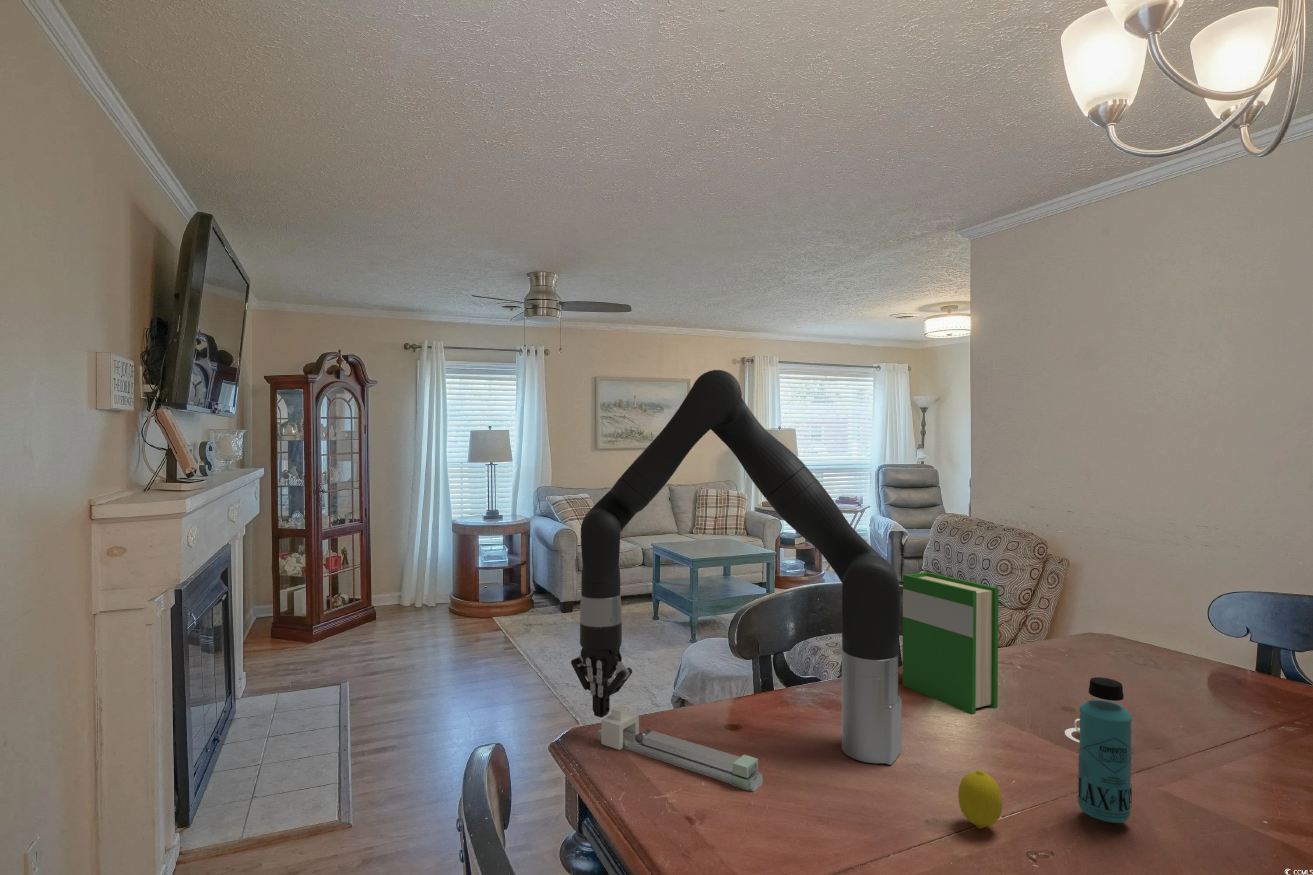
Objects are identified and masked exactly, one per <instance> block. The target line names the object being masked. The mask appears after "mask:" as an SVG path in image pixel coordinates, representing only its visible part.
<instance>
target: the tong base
mask: <svg viewBox="0 0 1313 875" xmlns="http://www.w3.org/2000/svg"><path fill="white" fill-rule="evenodd" d="M596 732H597V733H596V734H597V735H596V736H597V737H596V738H597V740H598V741H601V729H599V730H597V731H596ZM650 732H652V730H650V729H649V728H646V729H644V730H642V731H639V734H634V733H631V732H628V731H625V730H623V748H622V749H624V750H629V751H630V752H634V753H637V754H640V755H643V756H646V757H650V758H652V759H655V760H657V761H661V762H664V763H667V764H671V765H673V766H676V767H679V768H682V769H685V770H687V771H691V772H694V773H695V774H696V773H697V774H700V775H702V776H706V777H709V778H712V779H714V780H715V779H716V780H718V781H720V782H724V783H727V784H730V785H731V786H732V787H735V788H738V789H741V790H744V791H746V792H747V791H748V792H750V791H751V792H755V791H756V790H758V788H760V786H762V785H763V784H764V783H763V782H764V779H763V776H764V774H763V773H760V771H759V770H758V769H757V770H756V771H755V772H754V773H753V774H751V775H750V776H749V777H748V778H745V777H742V776H739V775H736V774H733V772H730V771H727V770H723V769H720V768H717V767H714V766H711V765H708V764H704V763H701V762H698V761H695V760H692V759H689V758H686V757H682V756H679V755H676V754H673V753H670V752H667V751H663V750H660V749H657V748H654V747H651V746H648V745H644V744H643V736H645V735H647V734H648V733H650Z"/></svg>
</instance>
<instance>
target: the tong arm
mask: <svg viewBox="0 0 1313 875" xmlns="http://www.w3.org/2000/svg"><path fill="white" fill-rule="evenodd" d="M643 744H644V745H648V746H651V747H654V748H657V749H660V750H663V751H667V752H670V753H673V754H676V755H679V756H682V757H686V758H689V759H692V760H695V761H698V762H701V763H704V764H708V765H711V766H714V767H717V768H720V769H723V770H727V771H730V772H733V774H736V775H739V776H742V777H745V778H748V777H749V776H750V775H751V774H753V773H754V772H755V771H756V770H757V771H758V770H759V758H757V757H754V756H750V755H747V754H743V755H741V756H739V755H735V754H732V753H728V752H724V751H722V750H718V749H716V748H712V747H709V746H706V745H702V744H698V743H696V742H691V741H690V740H684V739H681V738H678V737H674V736H672V735H668V734H665V733H663V732H662V733H661V732H659V731H655V730H651V732H650V733H648V734H647V735H645V736H643Z"/></svg>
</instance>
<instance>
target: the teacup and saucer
mask: <svg viewBox="0 0 1313 875" xmlns="http://www.w3.org/2000/svg"><path fill="white" fill-rule="evenodd" d="M1073 722H1074V723H1073V725H1074V727H1071V728H1067V729H1065V730H1064V735H1065V736H1066V738H1068V739H1070V740H1072V741H1073V742H1076V743H1078V744H1079V739H1077V738H1076V737H1074V736H1073V735H1072V733H1075V732H1078V734H1080V727H1078V726H1077V722H1080V718H1076V719H1075V720H1074V721H1073Z"/></svg>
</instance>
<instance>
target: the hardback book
mask: <svg viewBox="0 0 1313 875" xmlns="http://www.w3.org/2000/svg"><path fill="white" fill-rule="evenodd" d="M901 662H902V663H901V664H902V665H901V666H902V671H901V672H902V674H901V676H902V679H901V680H902V682H901V684H902V686H904V687H906V688H908V689H911V690H913V691H915V692H918V693H920V694H922V695H924V696H927V697H930V698H932V699H934V700H936V701H939V702H941V703H944V704H946V705H948V706H951V707H954V708H956V709H958V710H960V711H963V712H965V713H968V714H969V715H975V714H977V713H976V709H979V708H982V707H986V706H987V707H989V708H992V709H997V708H999V707H998V706H999V705H998V699H999V698H998V697H999V696H998V694H999V691H998V690H999V688H998V686H999V684H998V683H999V681H998V680H999V678H998V677H999V673H998V672H999V587H997V586H992V585H988V584H983V583H979V582H973V581H969V580H964V579H960V578H956V577H950V576H946V575H943V574H938V573H934V572H929V571H925V572H924V571H923V572H916V573H908V574H902V661H901Z"/></svg>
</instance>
